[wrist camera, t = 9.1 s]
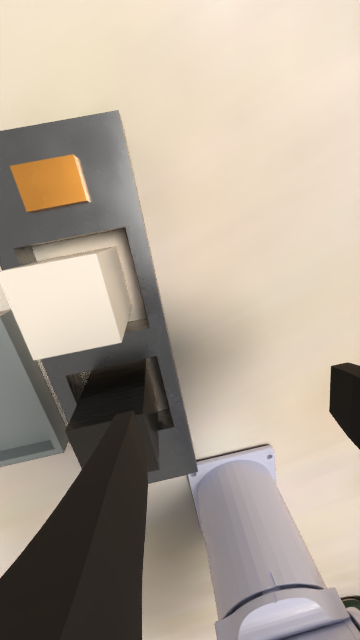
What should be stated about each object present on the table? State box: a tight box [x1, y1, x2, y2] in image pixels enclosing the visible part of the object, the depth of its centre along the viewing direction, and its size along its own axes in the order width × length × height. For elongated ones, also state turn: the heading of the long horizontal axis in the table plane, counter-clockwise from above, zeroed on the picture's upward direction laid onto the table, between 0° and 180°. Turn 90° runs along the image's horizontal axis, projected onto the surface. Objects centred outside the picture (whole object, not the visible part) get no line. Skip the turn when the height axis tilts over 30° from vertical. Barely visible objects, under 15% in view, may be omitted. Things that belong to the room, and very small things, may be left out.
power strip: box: [0, 110, 198, 484], centre depth 15 cm, size 24×8×6 cm, turn 11°
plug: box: [0, 246, 132, 360], centre depth 13 cm, size 4×4×6 cm
